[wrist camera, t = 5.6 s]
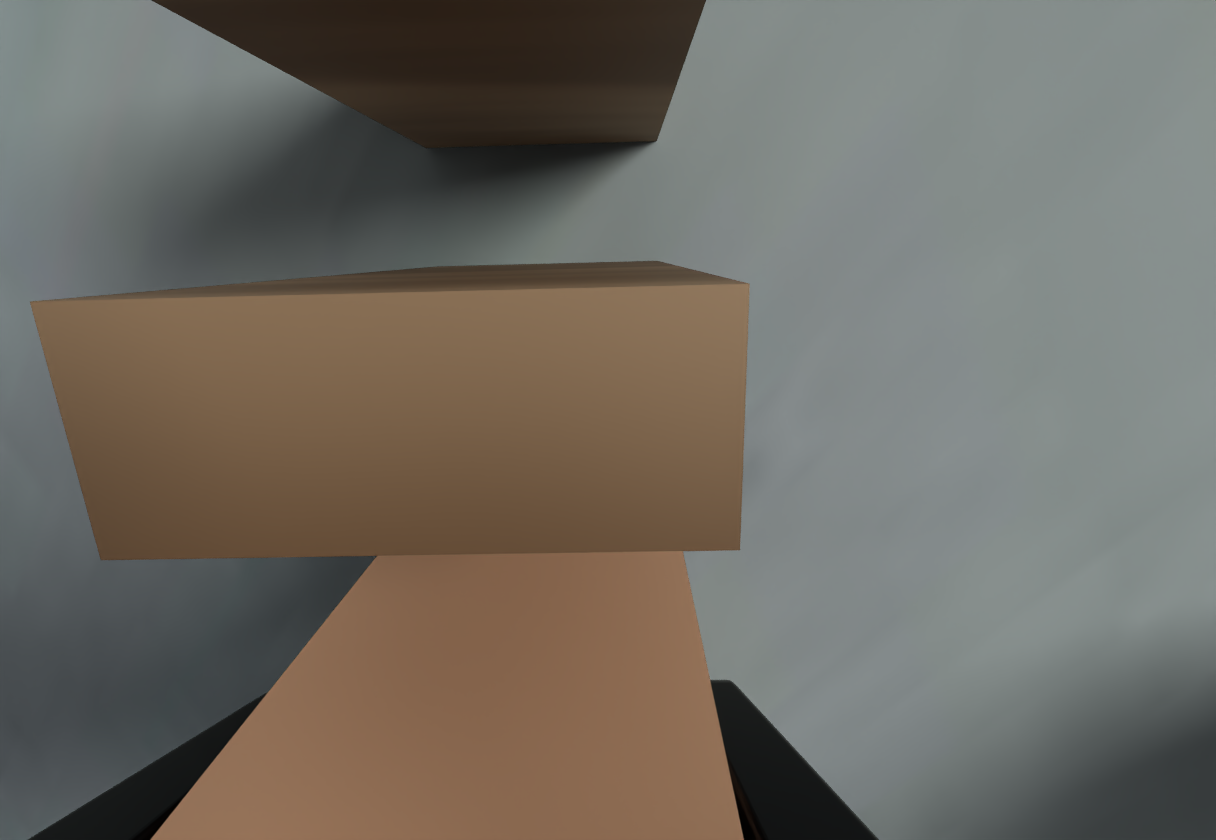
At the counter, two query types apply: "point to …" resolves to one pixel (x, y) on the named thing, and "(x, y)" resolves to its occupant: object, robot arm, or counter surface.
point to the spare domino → (484, 712)
